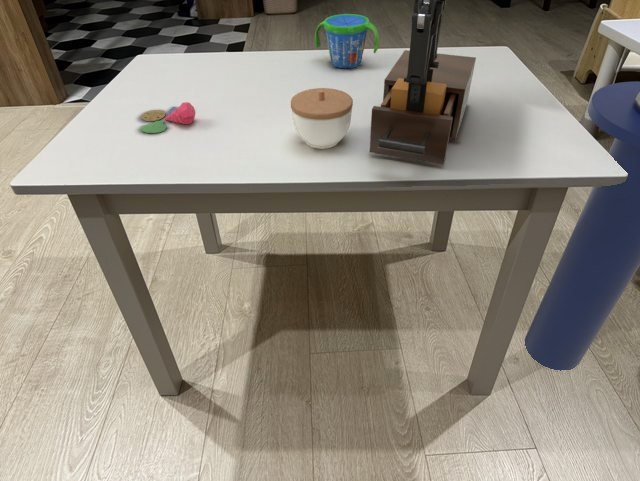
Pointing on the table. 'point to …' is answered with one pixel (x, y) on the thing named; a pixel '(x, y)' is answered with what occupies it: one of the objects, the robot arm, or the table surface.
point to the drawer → (412, 131)
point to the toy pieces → (168, 117)
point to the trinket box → (322, 116)
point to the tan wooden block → (432, 97)
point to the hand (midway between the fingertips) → (416, 113)
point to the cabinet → (442, 81)
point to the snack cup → (346, 38)
